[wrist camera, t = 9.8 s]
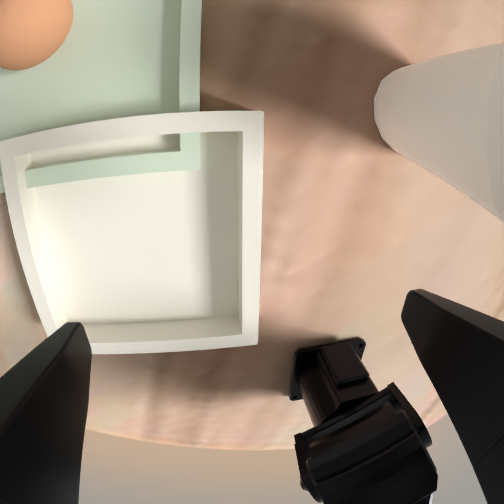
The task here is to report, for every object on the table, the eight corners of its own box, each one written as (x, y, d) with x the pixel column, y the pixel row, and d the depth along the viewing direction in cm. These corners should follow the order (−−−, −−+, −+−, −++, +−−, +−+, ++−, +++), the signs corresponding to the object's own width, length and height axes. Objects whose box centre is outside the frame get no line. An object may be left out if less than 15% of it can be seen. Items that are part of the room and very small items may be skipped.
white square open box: (249, 317, 23) (257, 344, 20) (65, 327, 20) (55, 353, 18) (252, 110, 17) (264, 111, 14) (23, 135, 14) (-2, 141, 12)
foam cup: (349, 37, 15) (526, 1, 4) (452, 59, 17) (599, 73, 5) (354, 180, 20) (512, 276, 8) (451, 176, 21) (585, 243, 9)
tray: (199, 163, 17) (200, 169, 16) (-42, 197, 14) (-58, 206, 13) (207, -93, 10) (210, -108, 8) (-33, -28, 7) (-46, -34, 5)
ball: (82, 63, 13) (47, 49, 8) (8, 82, 12) (-39, 80, 7) (88, -13, 11) (61, -46, 6) (14, 9, 10) (-26, -11, 5)
